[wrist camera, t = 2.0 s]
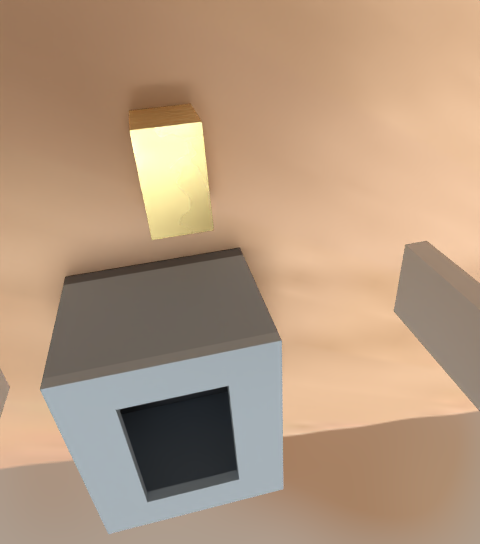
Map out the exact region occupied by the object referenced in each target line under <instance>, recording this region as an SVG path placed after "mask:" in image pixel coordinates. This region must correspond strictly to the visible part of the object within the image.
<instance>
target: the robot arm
mask: <svg viewBox="0 0 480 544" xmlns="http://www.w3.org/2000/svg"><path fill="white" fill-rule="evenodd" d="M394 312H395V313H396V314H397V316H398V317H399V318H400V319H401V320H402V321H403V323H404V324H405V325H406V326H407V327H408V328H409V330H410V331H411V332H412V333H413V334H414V335H415V337H416V338H417V339H418V340H419V341H420V342H421V344H422V345H423V346H424V347H425V348H426V349H427V351H428V352H429V353H430V354H431V355H432V356H433V358H434V359H435V360H436V361H437V362H438V363H439V365H440V366H441V367H442V368H443V369H444V370H445V372H446V373H447V374H448V375H449V376H450V377H451V379H452V380H453V381H454V382H455V383H456V384H457V386H458V387H459V388H460V389H461V390H462V391H463V393H464V394H465V395H466V396H467V397H468V398H469V399H470V401H471V402H472V403H473V404H474V405H475V406H476V408H477V409H478V410H479V411H480V283H479V282H478V281H476V280H475V279H474V278H473V277H471V276H470V275H469V274H468V273H466V272H465V271H464V270H463V269H461V268H460V267H459V266H458V265H456V264H455V263H454V262H453V261H451V260H450V259H449V258H448V257H446V256H445V255H444V254H443V253H441V252H440V251H439V250H438V249H436V248H435V247H434V246H432V245H431V244H430V243H429V242H427V241H423V242H417V243H412V244H406V245H405V249H404V255H403V261H402V267H401V272H400V278H399V284H398V290H397V296H396V302H395V307H394ZM9 388H10V386H9V384H8V383H7V381H6V379H5V377H4V375H3V373H2V371H1V369H0V417H1V414H2V411H3V407H4V404H5V401H6V398H7V395H8V391H9Z"/></svg>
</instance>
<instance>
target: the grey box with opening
mask: <svg viewBox="0 0 480 544" xmlns="http://www.w3.org/2000/svg"><path fill="white" fill-rule="evenodd" d="M40 391H41V393H42V395H43V397H44V399H45V401H46V403H47V405H48V408H49V410H50V412H51V414H52V416H53V418H54V420H55V422H56V424H57V427H58V429H59V431H60V433H61V435H62V437H63V439H64V441H65V443H66V446H67V448H68V450H69V452H70V454H71V456H72V458H73V460H74V462H75V465H76V467H77V469H78V471H79V473H80V475H81V477H82V479H83V481H84V484H85V486H86V488H87V490H88V492H89V494H90V496H91V498H92V500H93V503H94V505H95V507H96V509H97V511H98V513H99V515H100V517H101V519H102V521H103V523H104V526H105V528H106V530H107V532H108V534H111V533H115V532H118V531H123V530H126V529H130V528H134V527H138V526H142V525H146V524H149V523H154V522H157V521H161V520H165V519H169V518H173V517H177V516H181V515H185V514H189V513H192V512H196V511H200V510H204V509H208V508H212V507H216V506H219V505H223V504H227V503H231V502H235V501H239V500H243V499H247V498H251V497H255V496H258V495H262V494H266V493H270V492H274V491H278V490H282V489H283V418H282V340H281V338H280V336H279V333H278V331H277V329H276V327H275V325H274V322H273V320H272V318H271V316H270V314H269V311H268V309H267V307H266V305H265V303H264V300H263V298H262V296H261V294H260V291H259V289H258V287H257V285H256V283H255V280H254V278H253V276H252V274H251V272H250V269H249V267H248V265H247V263H246V261H245V258H244V256H243V254H242V252H241V249H240V248H236V249H230V250H224V251H218V252H212V253H206V254H200V255H194V256H188V257H182V258H176V259H170V260H164V261H158V262H152V263H146V264H140V265H134V266H128V267H122V268H116V269H110V270H104V271H98V272H92V273H86V274H80V275H74V276H68V277H65V281H64V285H63V290H62V294H61V298H60V303H59V307H58V312H57V316H56V321H55V325H54V330H53V334H52V338H51V343H50V347H49V352H48V356H47V361H46V365H45V370H44V374H43V378H42V383H41V387H40Z"/></svg>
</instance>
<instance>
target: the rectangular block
mask: <svg viewBox="0 0 480 544" xmlns="http://www.w3.org/2000/svg"><path fill="white" fill-rule="evenodd" d="M129 131H130V136H131V141H132V146H133V151H134V156H135V161H136V165H137V170H138V175H139V180H140V185H141V190H142V195H143V200H144V205H145V209H146V214H147V219H148V224H149V229H150V234H151V239H152V240H156V239H162V238H169V237H175V236H181V235H187V234H193V233H200V232H206V231H212V230H214V229H213V220H212V211H211V202H210V193H209V184H208V174H207V165H206V156H205V147H204V138H203V129H202V121H201V120H200V118H199V117H198V115H197V113H196V112H195V110H194V108H193V107H192V105H191V104H183V105H174V106H165V107H157V108H148V109H139V110H130V111H129Z"/></svg>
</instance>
